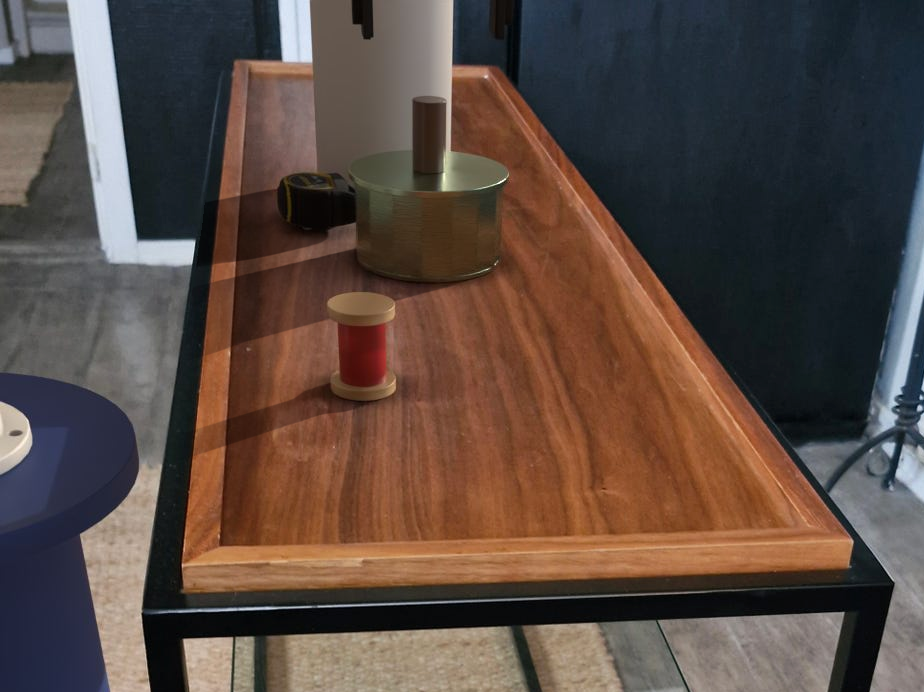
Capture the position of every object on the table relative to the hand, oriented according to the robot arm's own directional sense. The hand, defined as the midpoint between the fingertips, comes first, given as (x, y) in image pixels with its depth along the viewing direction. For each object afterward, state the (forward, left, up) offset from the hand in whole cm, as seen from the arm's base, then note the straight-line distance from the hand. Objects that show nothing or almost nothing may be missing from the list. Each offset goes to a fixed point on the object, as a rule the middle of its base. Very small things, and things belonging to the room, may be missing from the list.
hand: (432, 36), depth 90 cm
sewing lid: (0, 0, -10) cm, 10 cm away
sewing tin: (0, 0, -16) cm, 16 cm away
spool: (-7, -26, -16) cm, 32 cm away
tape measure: (-8, +10, -16) cm, 21 cm away
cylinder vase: (-2, +21, -16) cm, 27 cm away
